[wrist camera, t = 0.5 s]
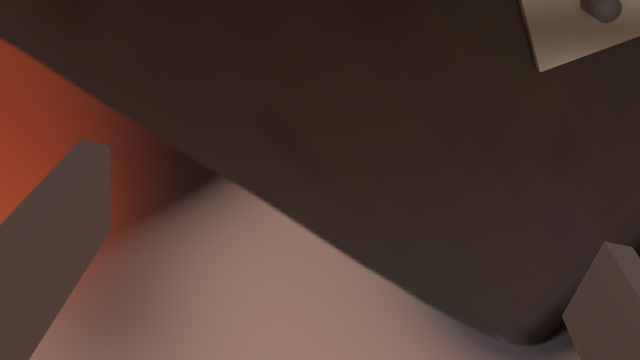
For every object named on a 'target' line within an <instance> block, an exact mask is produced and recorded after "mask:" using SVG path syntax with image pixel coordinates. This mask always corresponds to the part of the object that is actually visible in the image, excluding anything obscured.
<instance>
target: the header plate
mask: <svg viewBox="0 0 640 360" xmlns="http://www.w3.org/2000/svg"><path fill="white" fill-rule="evenodd" d="M518 1H519V4H520V8H521V12H522V16H523V20H524V23H525V27H526V31H527V35H528V39H529V43H530V46H531V50H532V54H533V58H534V62H535V65H536V68H537V69H538V70H539V71H540V72H542V71H545V70H547V69H550V68H553V67H556V66H559V65H561V64H564V63H567V62H570V61H572V60H575V59H578V58H581V57H583V56H586V55H589V54H592V53H594V52H597V51H600V50H603V49H605V48H608V47H611V46H614V45H616V44H619V43H622V42H625V41H627V40H630V39H633V38H636V37H638V36H640V0H518Z"/></svg>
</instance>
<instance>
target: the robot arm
mask: <svg viewBox="0 0 640 360" xmlns="http://www.w3.org/2000/svg"><path fill="white" fill-rule="evenodd" d="M109 233H110V146H109V145H104V144H99V143H94V142H89V141H83V140H79V142H78V143H77V144H76V145H75V146H74V147H73V148H72V149H71V150H70V151H69V152H68V153H67V154H66V155H65V156H64V158H63V159H62V160H61V161H60V162H59V163H58V164H57V165H56V166H55V167H54V168H53V169H52V170H51V171H50V173H48V174H47V176H46V177H45V178H44V179H43V180H42V181H41V182H40V183H39V184H38V185H37V186H36V187H35V188H34V190H32V192H31V193H30V194H29V195H28V196H27V197H26V198H25V199H24V200H23V201H22V202H21V203H20V204H19V205H18V207H16V209H15V210H14V211H13V212H12V213H11V214H10V215H9V216H8V217H7V218H6V219H5V220H4V221H3V222H2V224H1V225H0V360H29V359H30V357H31V355H32V354H33V352H34V351H35V349H36V348H37V346H38V344H39V343H40V341H41V340H42V338H43V336H44V335H45V333H46V332H47V330H48V329H49V327H50V325H51V324H52V323H53V321H54V319H55V318H56V316H57V315H58V313H59V311H60V310H61V308H62V307H63V305H64V304H65V302H66V301H67V299H68V297H69V296H70V294H71V293H72V291H73V289H74V288H75V286H76V285H77V283H78V282H79V280H80V278H81V277H82V275H83V274H84V272H85V271H86V269H87V267H88V266H89V264H90V263H91V261H92V260H93V258H94V256H95V255H96V254H97V252H98V250H99V249H100V247H101V246H102V244H103V243H104V241H105V239H106V238H107V236H108V235H109ZM562 317H563V319H564V322H565V324H566V326H567V329H568V331H569V333H570V335H571V338H572V340H573V342H574V345H575V347H576V349H577V351H578V354H579V356H580V359H581V360H640V258H639V257H638V255H637V254H636V252H635V251H634V249H633V248H632V247H629V246H624V245H619V244H613V243H608V242H604V244H603V245H602V247H601V249H600V251H599V252H598V254H597V256H596V258H595V259H594V261H593V263H592V265H591V266H590V268H589V270H588V272H587V273H586V275H585V277H584V279H583V280H582V282H581V284H580V286H579V287H578V289H577V291H576V292H575V294H574V296H573V298H572V299H571V301H570V303H569V305H568V306H567V308H566V310H565V312H564V313H563V315H562Z"/></svg>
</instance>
